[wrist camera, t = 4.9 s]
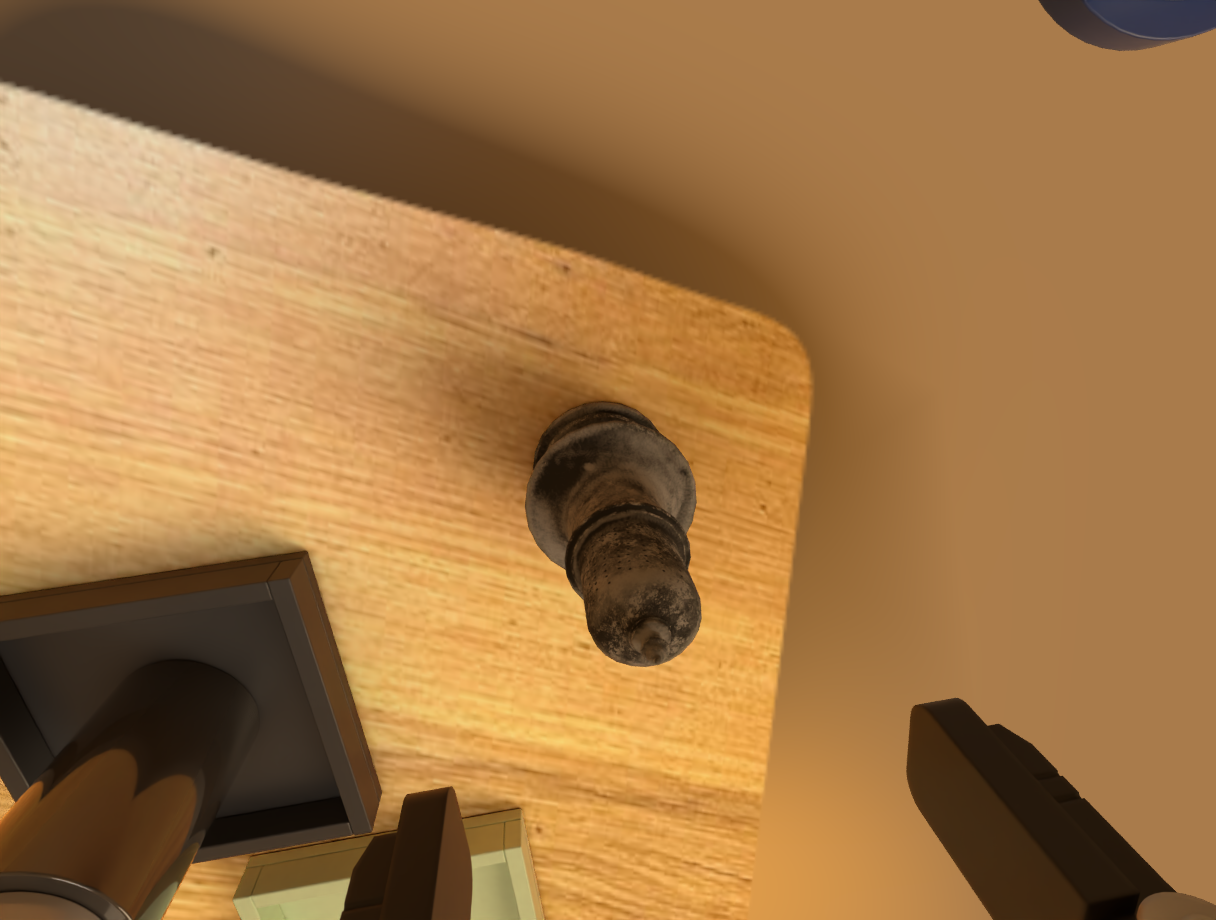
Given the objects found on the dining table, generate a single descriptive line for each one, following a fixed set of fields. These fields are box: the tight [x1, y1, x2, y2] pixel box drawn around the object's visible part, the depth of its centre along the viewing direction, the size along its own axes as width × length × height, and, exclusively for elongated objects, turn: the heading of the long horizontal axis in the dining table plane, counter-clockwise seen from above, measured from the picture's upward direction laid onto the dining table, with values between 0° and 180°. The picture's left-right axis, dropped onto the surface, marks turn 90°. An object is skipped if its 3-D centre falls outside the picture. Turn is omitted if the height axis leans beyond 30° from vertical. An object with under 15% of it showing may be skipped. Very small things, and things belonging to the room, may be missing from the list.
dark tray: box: [0, 551, 382, 864], centre depth 26 cm, size 13×13×2 cm
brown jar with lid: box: [0, 660, 260, 920], centre depth 22 cm, size 6×6×10 cm
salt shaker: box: [525, 402, 701, 667], centre depth 20 cm, size 6×6×12 cm
